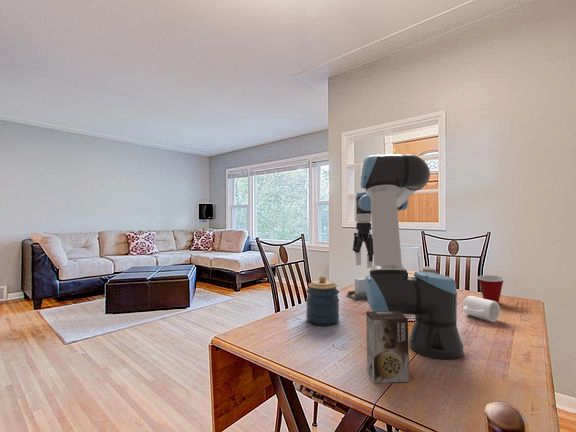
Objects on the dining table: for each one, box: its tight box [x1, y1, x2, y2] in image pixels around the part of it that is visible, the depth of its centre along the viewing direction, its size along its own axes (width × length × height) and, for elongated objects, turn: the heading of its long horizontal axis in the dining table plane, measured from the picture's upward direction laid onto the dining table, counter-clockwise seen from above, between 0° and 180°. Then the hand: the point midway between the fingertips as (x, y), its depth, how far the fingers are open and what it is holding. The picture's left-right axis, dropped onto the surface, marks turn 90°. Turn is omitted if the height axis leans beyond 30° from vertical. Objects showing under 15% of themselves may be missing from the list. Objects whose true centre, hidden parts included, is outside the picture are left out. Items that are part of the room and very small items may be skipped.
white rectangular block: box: [354, 277, 366, 294], centre depth 156 cm, size 9×4×8 cm, turn 113°
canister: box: [305, 275, 340, 327], centre depth 120 cm, size 13×13×18 cm
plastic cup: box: [476, 274, 505, 304], centre depth 144 cm, size 11×11×12 cm
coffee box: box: [365, 310, 410, 384], centre depth 79 cm, size 9×6×16 cm
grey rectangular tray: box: [346, 290, 368, 301], centre depth 156 cm, size 17×8×2 cm, turn 113°
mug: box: [462, 295, 501, 323], centre depth 121 cm, size 12×10×8 cm
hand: (363, 266), depth 156 cm, fingers open, 9 cm apart
